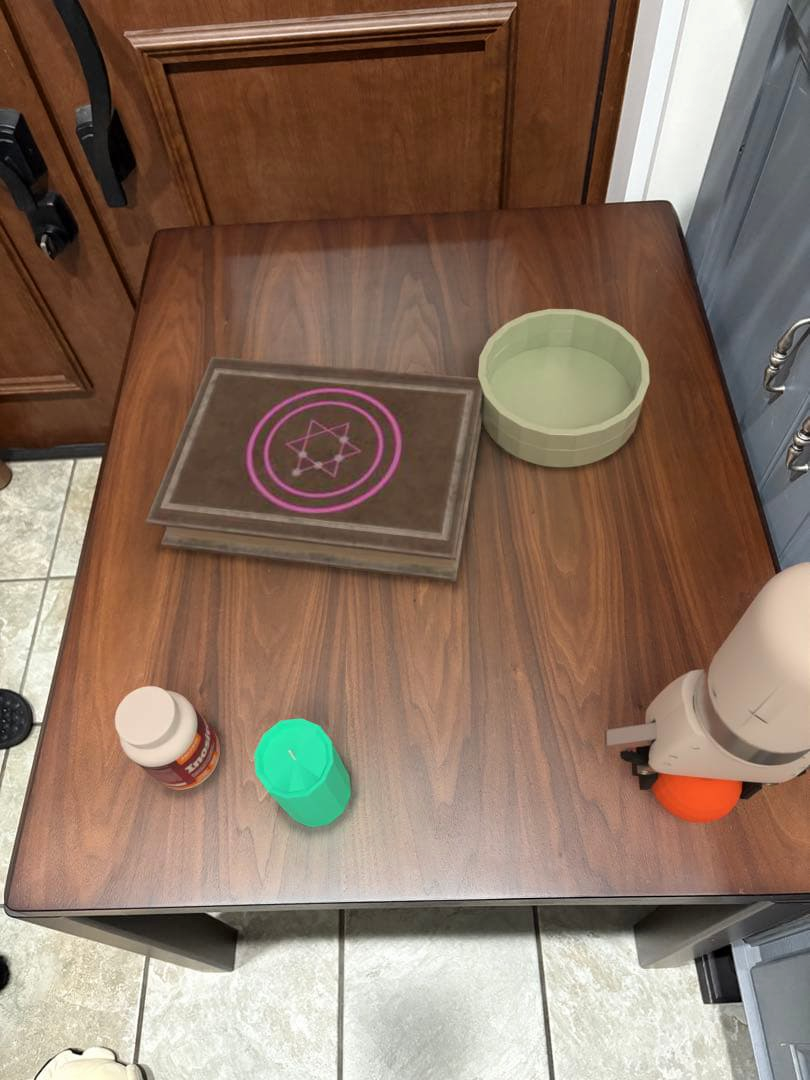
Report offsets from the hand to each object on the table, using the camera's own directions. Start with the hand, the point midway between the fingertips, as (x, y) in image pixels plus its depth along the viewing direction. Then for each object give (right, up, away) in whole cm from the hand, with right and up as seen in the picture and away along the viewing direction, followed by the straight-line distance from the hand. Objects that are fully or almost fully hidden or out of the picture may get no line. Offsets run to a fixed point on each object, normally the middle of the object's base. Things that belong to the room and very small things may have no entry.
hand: (691, 775), depth 64 cm
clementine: (0, -1, +2) cm, 3 cm away
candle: (-31, -3, +4) cm, 31 cm away
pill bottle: (-42, 0, +6) cm, 43 cm away
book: (-31, +26, +21) cm, 46 cm away
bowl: (-6, +34, +24) cm, 42 cm away
